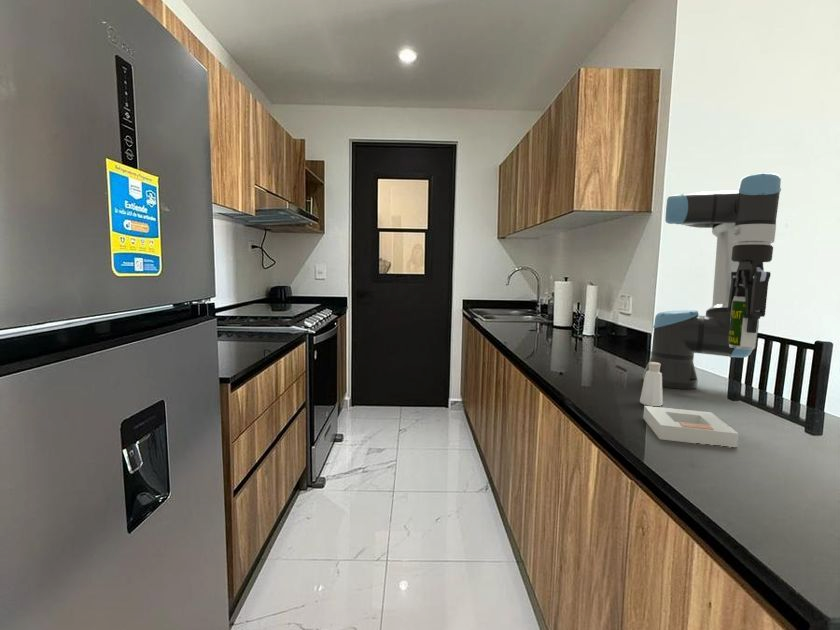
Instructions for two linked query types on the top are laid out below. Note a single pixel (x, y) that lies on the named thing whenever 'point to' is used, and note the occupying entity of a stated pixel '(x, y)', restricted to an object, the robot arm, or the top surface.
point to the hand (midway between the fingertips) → (741, 344)
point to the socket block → (689, 426)
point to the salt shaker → (652, 386)
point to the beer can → (737, 323)
